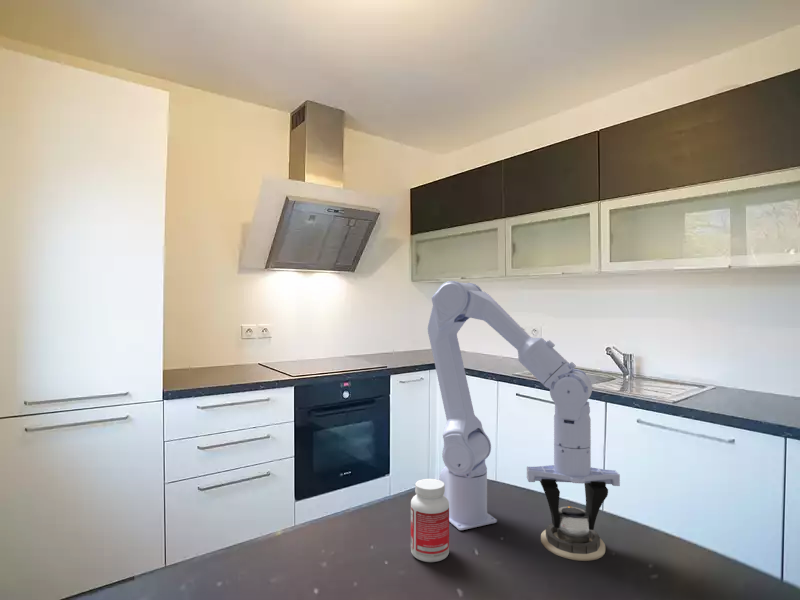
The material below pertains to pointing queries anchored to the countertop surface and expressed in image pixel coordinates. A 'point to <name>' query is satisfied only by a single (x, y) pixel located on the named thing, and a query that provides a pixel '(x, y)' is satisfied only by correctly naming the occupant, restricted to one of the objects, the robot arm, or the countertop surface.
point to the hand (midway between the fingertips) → (572, 526)
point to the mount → (573, 545)
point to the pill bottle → (430, 521)
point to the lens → (573, 525)
